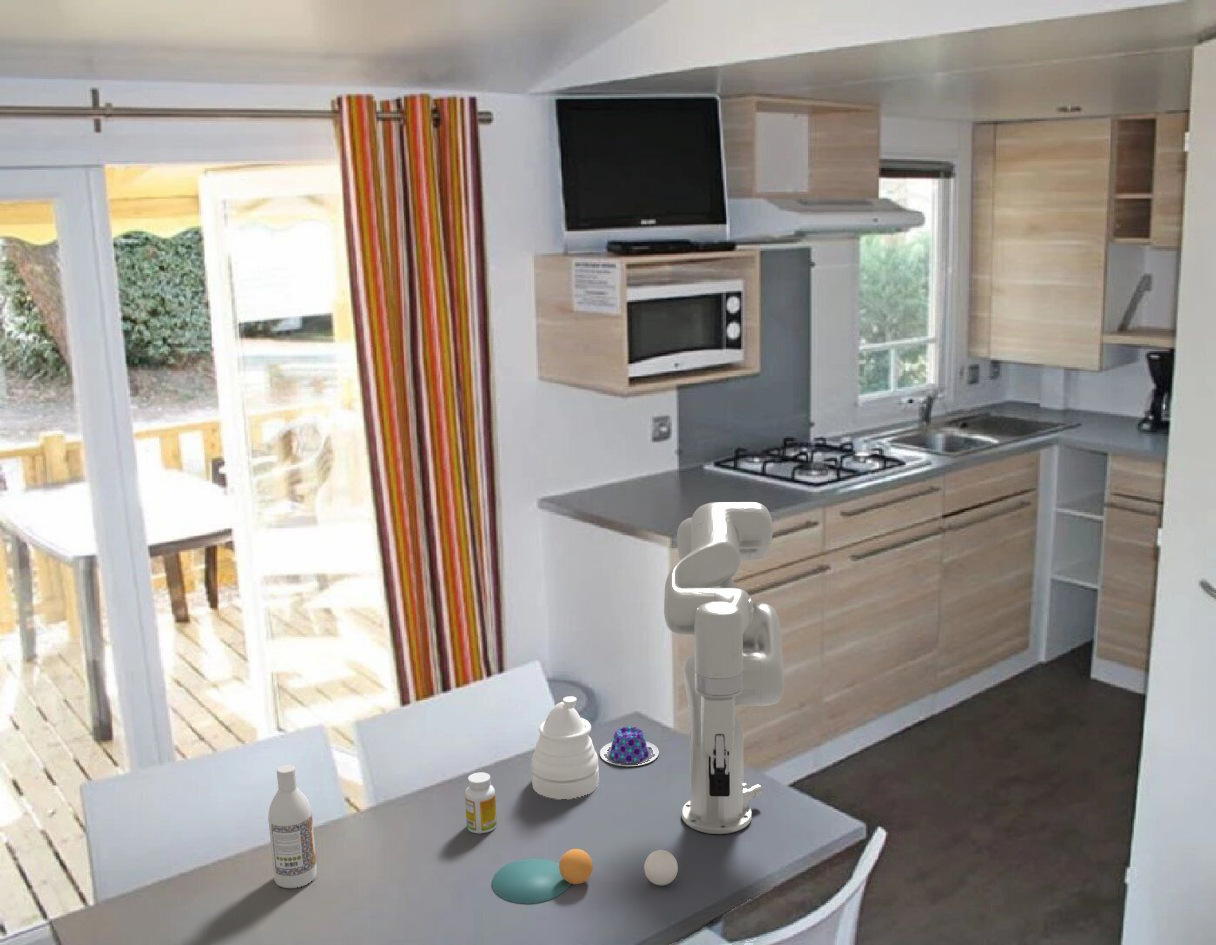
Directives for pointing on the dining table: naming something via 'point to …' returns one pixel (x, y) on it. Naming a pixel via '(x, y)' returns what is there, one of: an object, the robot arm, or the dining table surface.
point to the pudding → (629, 747)
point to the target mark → (529, 881)
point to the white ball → (661, 867)
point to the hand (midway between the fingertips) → (719, 786)
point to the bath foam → (291, 833)
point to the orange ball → (575, 866)
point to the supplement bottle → (480, 804)
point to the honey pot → (564, 755)
